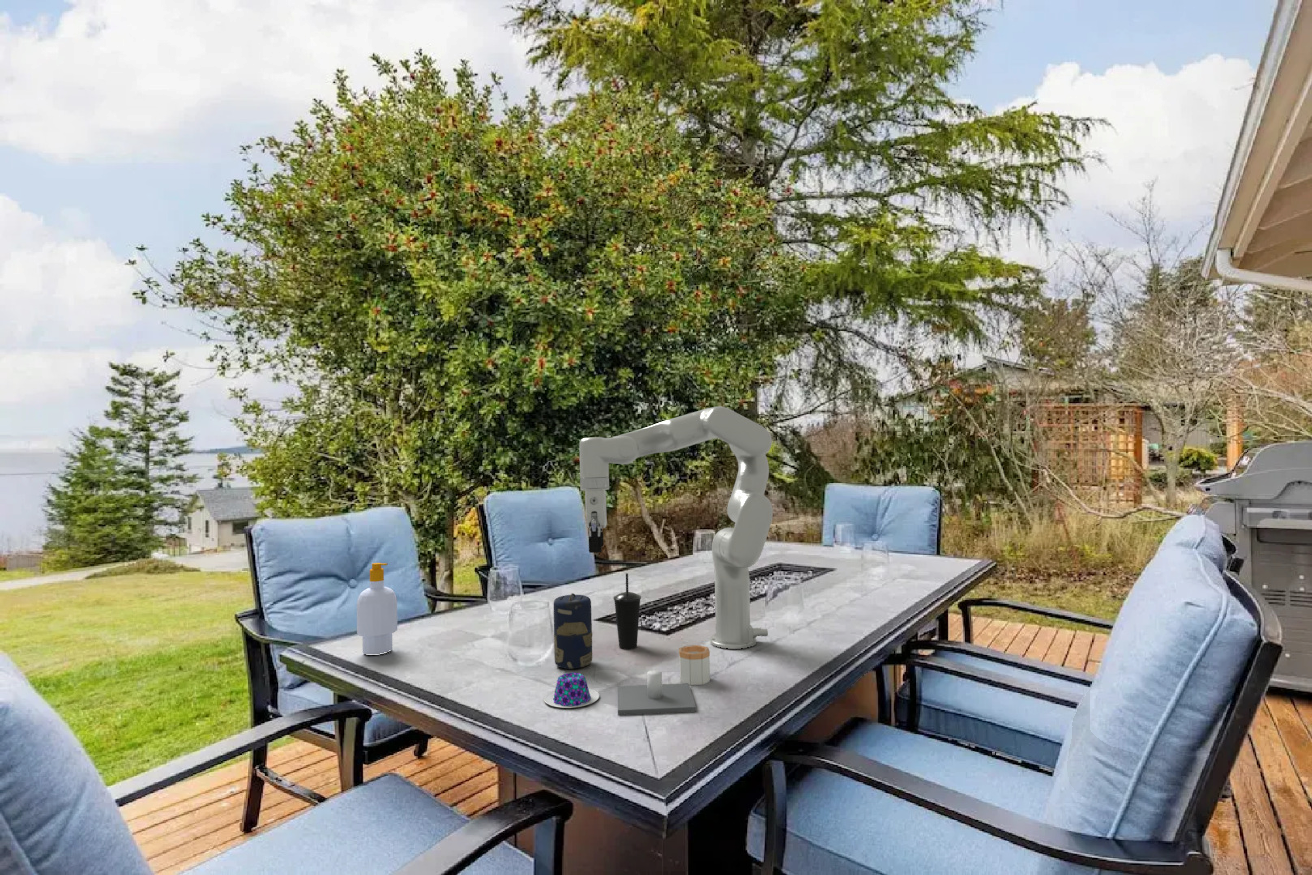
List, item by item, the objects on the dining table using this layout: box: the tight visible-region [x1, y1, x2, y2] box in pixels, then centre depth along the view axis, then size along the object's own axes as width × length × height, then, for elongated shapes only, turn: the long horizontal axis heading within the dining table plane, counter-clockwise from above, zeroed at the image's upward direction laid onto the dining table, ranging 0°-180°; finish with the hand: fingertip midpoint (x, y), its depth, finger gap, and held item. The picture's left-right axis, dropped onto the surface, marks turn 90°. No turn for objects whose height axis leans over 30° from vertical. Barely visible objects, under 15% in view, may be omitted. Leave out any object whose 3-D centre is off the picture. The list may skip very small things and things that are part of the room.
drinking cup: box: [612, 573, 642, 650], centre depth 186 cm, size 8×8×20 cm
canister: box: [553, 593, 593, 670], centre depth 171 cm, size 10×10×18 cm
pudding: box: [543, 672, 600, 709], centre depth 148 cm, size 12×12×5 cm
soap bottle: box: [356, 562, 398, 655], centre depth 185 cm, size 10×10×24 cm
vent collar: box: [678, 644, 711, 686], centre depth 158 cm, size 7×7×7 cm
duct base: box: [617, 669, 697, 716], centre depth 146 cm, size 16×14×6 cm
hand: (596, 549), depth 178 cm, fingers open, 9 cm apart
